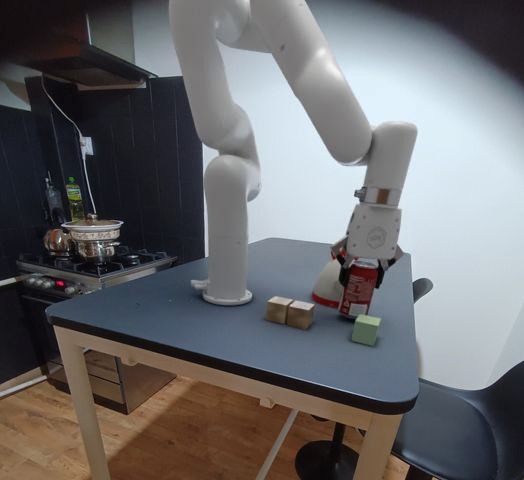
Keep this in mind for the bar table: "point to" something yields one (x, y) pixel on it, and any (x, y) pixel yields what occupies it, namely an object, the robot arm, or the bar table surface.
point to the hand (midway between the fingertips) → (359, 285)
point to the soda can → (358, 289)
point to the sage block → (366, 329)
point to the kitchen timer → (329, 283)
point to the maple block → (278, 309)
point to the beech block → (300, 314)
